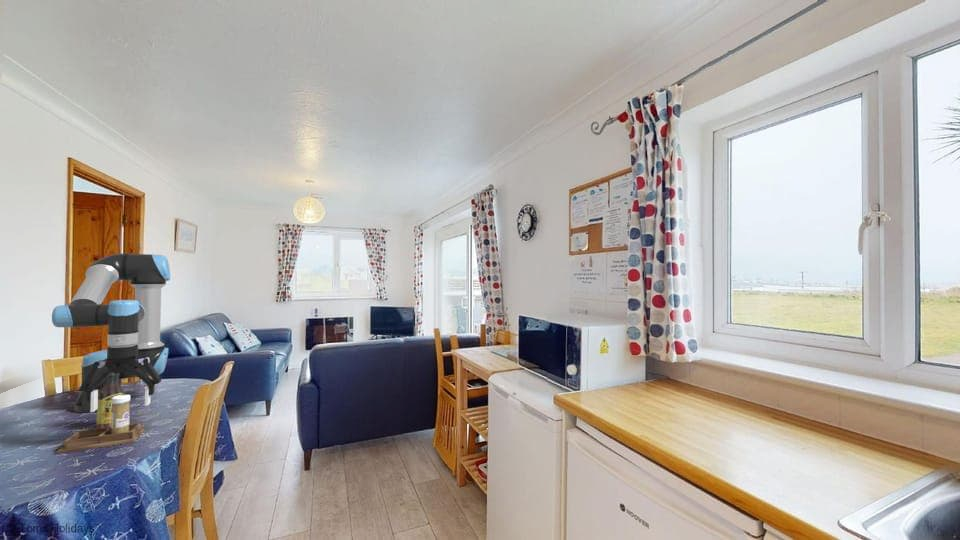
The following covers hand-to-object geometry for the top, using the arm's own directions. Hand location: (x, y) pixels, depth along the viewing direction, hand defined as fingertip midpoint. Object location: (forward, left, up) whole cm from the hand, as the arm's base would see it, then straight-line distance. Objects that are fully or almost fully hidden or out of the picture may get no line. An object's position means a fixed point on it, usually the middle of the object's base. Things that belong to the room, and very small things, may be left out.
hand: (121, 407), depth 123 cm
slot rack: (0, -4, -10) cm, 11 cm away
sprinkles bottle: (0, 0, -10) cm, 10 cm away
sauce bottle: (-15, -8, -11) cm, 20 cm away
